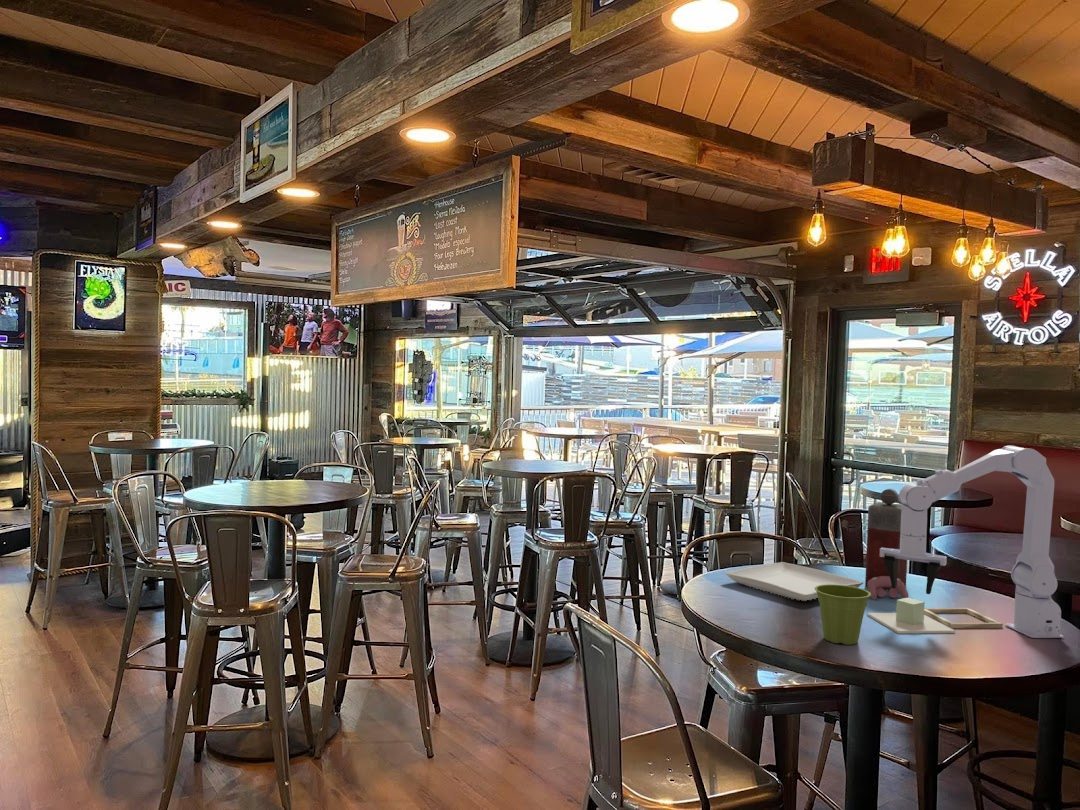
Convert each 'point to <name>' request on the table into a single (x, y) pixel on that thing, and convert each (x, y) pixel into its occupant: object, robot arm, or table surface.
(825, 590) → the plant pot
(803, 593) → the square plate
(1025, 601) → the robot arm
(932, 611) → the maple pocket frame
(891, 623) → the beige mat
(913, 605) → the sage block
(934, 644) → the table surface
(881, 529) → the brown canister
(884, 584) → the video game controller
